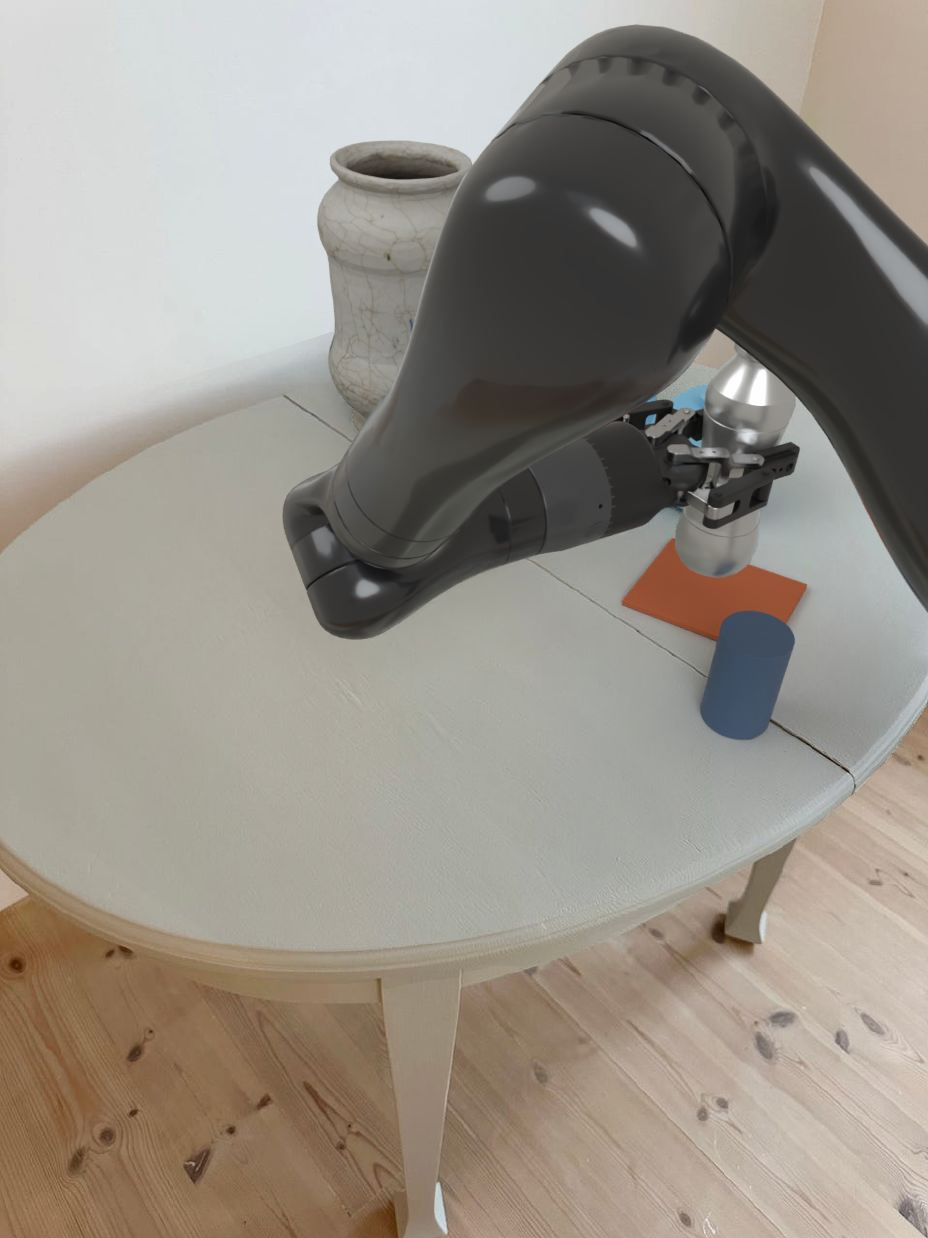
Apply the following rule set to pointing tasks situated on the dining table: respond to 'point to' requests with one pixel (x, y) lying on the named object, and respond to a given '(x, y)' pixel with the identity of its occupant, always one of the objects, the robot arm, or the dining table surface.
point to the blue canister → (746, 674)
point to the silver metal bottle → (744, 424)
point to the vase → (381, 255)
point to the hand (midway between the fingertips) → (762, 435)
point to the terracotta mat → (709, 594)
